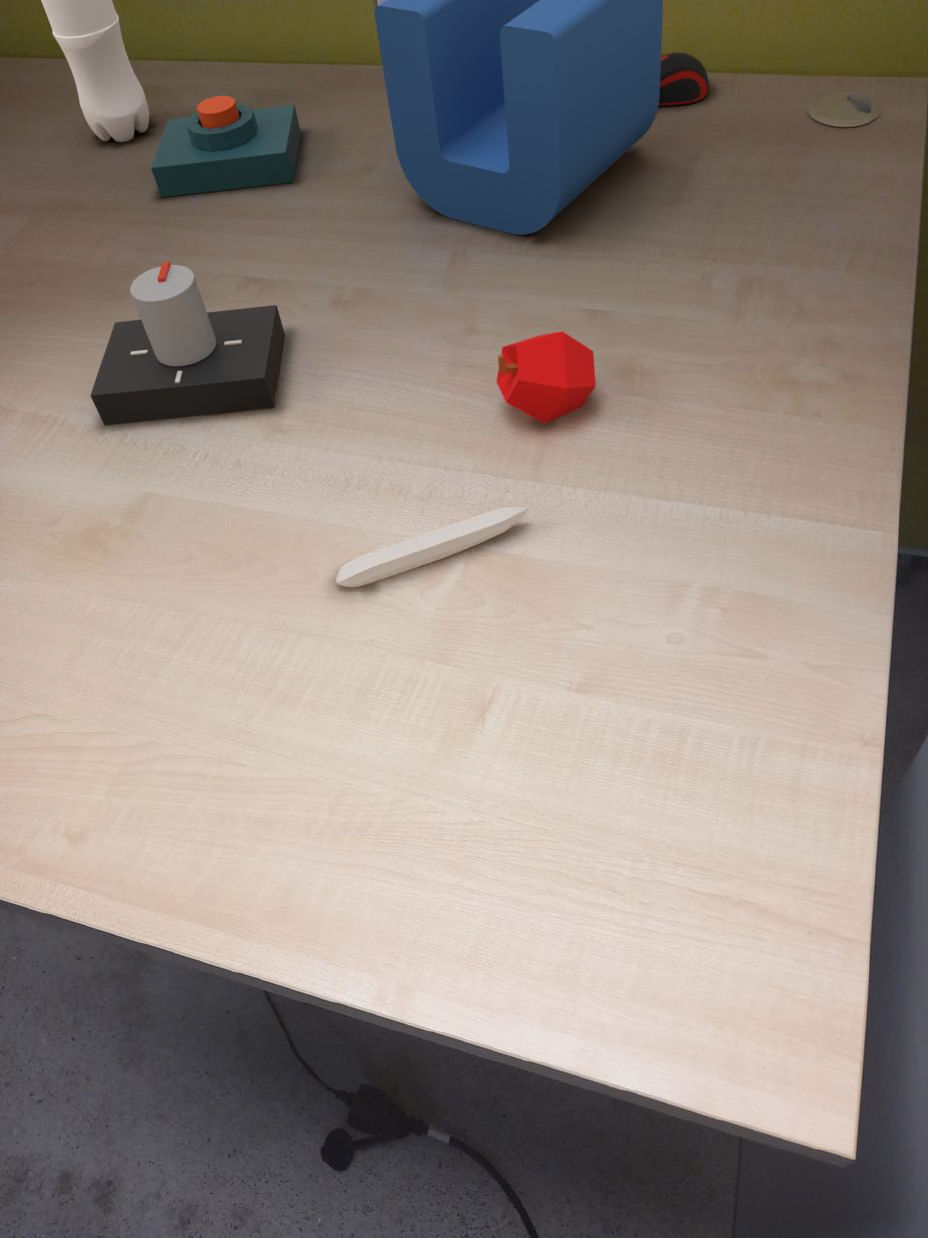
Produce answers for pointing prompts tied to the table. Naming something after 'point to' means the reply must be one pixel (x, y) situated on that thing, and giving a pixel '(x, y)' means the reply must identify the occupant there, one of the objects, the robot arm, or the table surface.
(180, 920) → the table surface
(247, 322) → the dial panel
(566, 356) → the apple
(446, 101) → the block
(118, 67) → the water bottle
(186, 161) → the teal button box
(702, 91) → the computer mouse
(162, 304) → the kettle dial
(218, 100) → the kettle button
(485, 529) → the pen
